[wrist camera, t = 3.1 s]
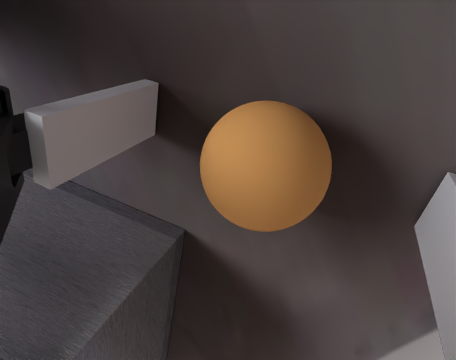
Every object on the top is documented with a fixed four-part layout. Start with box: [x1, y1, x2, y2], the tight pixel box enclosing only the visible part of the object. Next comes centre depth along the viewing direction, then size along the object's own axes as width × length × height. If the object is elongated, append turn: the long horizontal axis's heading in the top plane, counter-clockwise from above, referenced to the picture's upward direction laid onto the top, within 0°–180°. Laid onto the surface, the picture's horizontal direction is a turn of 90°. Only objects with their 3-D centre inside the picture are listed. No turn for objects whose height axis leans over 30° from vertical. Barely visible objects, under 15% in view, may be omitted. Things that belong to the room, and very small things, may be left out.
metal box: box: [0, 168, 185, 360], centre depth 19 cm, size 14×16×12 cm
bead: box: [200, 100, 332, 231], centre depth 12 cm, size 5×5×5 cm
